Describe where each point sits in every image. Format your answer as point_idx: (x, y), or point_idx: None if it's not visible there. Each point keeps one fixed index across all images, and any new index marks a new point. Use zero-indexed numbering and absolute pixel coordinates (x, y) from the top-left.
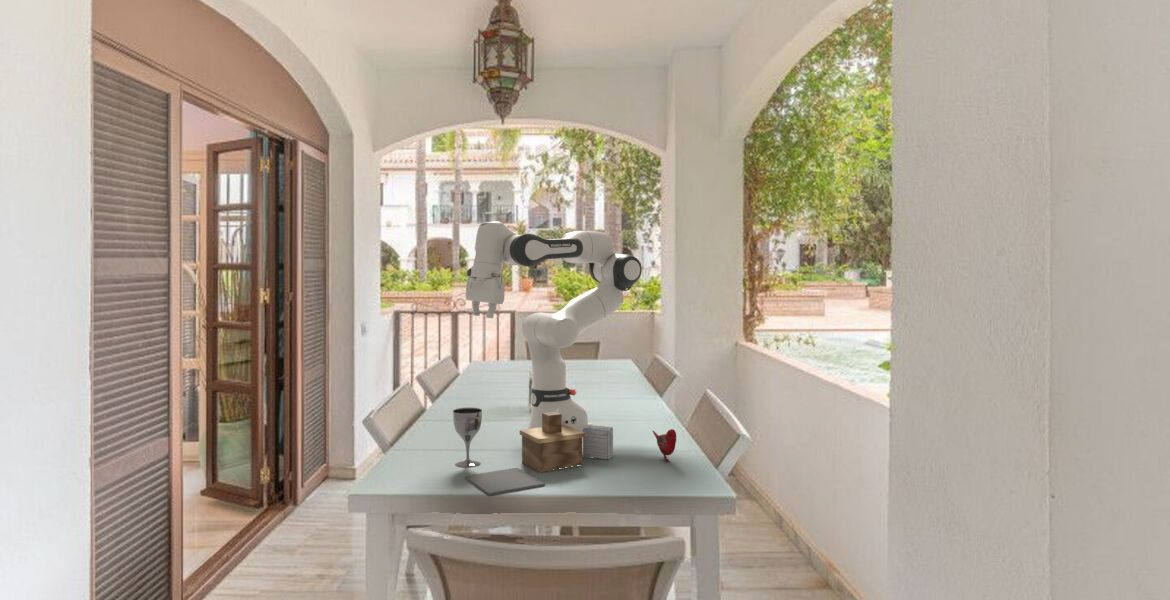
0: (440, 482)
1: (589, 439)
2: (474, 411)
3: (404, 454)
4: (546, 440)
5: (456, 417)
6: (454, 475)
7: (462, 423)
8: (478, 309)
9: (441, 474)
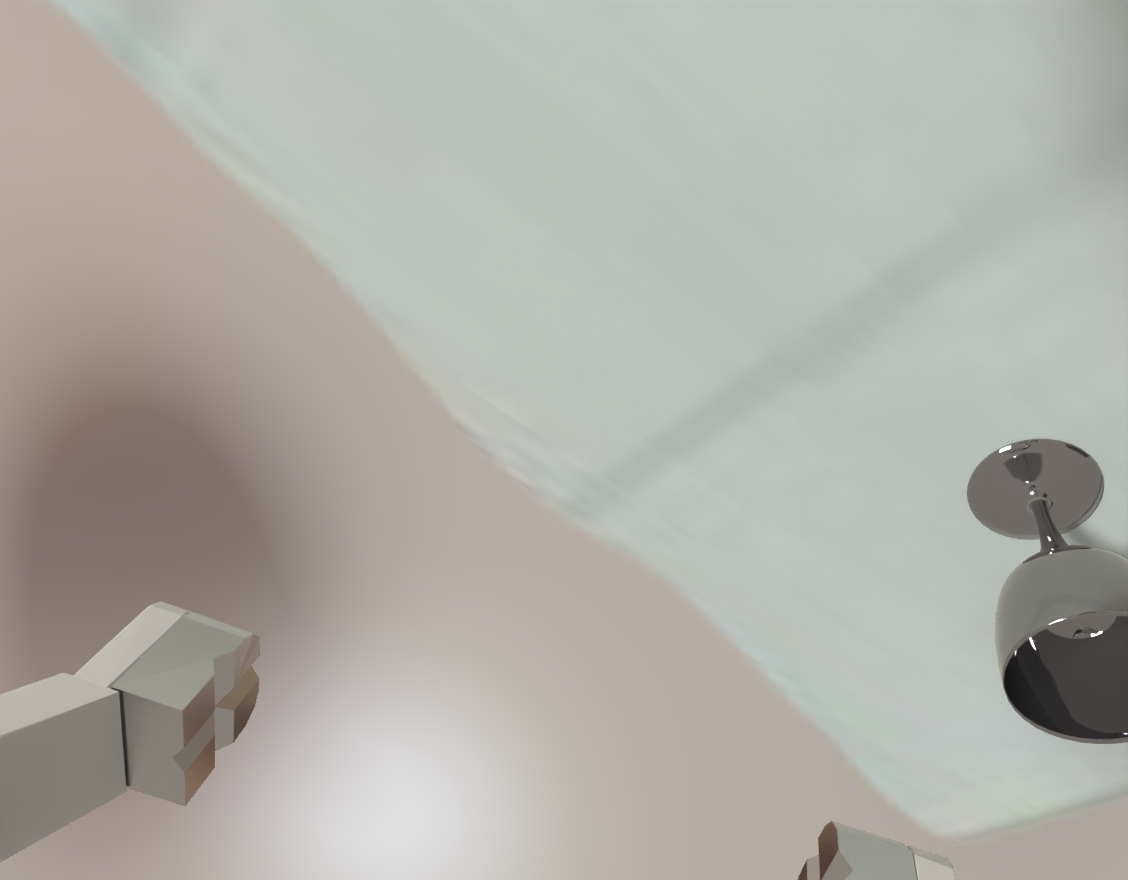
0: None
1: None
2: (1081, 601)
3: (670, 535)
4: None
5: (1078, 721)
6: None
7: (1114, 693)
8: (99, 714)
9: None
